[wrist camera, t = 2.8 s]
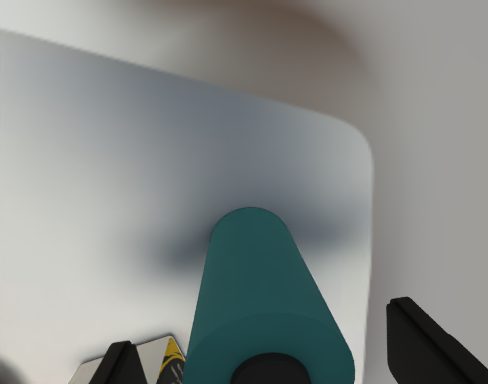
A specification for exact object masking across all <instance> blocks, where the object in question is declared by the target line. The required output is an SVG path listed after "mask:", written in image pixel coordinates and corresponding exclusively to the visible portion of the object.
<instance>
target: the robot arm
mask: <svg viewBox="0 0 488 384" xmlns="http://www.w3.org/2000/svg"><path fill="white" fill-rule="evenodd" d="M386 310H387V311H386V313H387V357H388V358H387V360H388V366H389V369H390V371H391V373H392V375H393V377H394V378H395V380H396V381H397V383H398V384H488V369H487V368H486V367H485V366H484V365H483V364H482V363H481V362H480V361H479V360H478V359H477V358H475V357H474V356H473V355H472V354H471V353H470V352H469V351H468V350H467V349H466V348H465V347H464V346H463V345H462V344H461V343H460V342H459V341H457V340H456V339H455V338H454V337H453V336H451V335H450V334H448V333H446V332H445V331H444V330H443V329H442V328H441V327H440V326H439V325H438V324H437V323H436V322H435V321H434V320H433V319H432V318H431V317H430V316H429V315H428V314H426V313H425V312H424V311H423V310H422V309H421V308H420V307H419V306H418V305H417V304H416V303H415V302H414V301H413V300H412V299H411V298H409V297H401V298H395V299H391V300H390V304H387V307H386ZM89 384H148V383H147V380H146V377H145V373H144V370H143V367H142V364H141V360H140V357H139V354H138V351H137V347H136V345H135V344H132V343H131V342H130V341H122V342H116V343H112V344H111V346H110V347H109V349H108V350H107V352H106V354H105V356H104V357H103V359H102V361H101V363H100V364H99V366H98V368H97V370H96V371H95V373H94V375H93V377H92V378H91V380H90V382H89Z"/></svg>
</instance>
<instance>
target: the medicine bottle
mask: <svg viewBox="0 0 488 384" xmlns="http://www.w3.org/2000/svg"><path fill="white" fill-rule="evenodd" d="M136 347H137V351H138V354H139V357H140V360H141V364H142V367H143V370H144V373H145V377H146V380H147V383H148V384H182V378H183V371H184V366H185V361H186V360H185V358H184V356H183V355H182V353H181V351H180V349H179V347H178V345H177V343H176V341H175V339H174V338H173V337H172V336H167V337H164V338H161V339H157V340H154V341H151V342H148V343H145V344H142V345H139V346H136ZM102 359H103V357H102V358H99V359H96V360H93V361H90V362H87V363H83V364H82V365H80V366H79V367H78V369H77V371H76V372H75V374H74V375H73V377H72V379H71V380H70V382H69V383H68V384H89V382H90V380H91V378H92V377H93V375H94V373H95V371H96V370H97V368H98V366H99V364H100V363H101V361H102Z"/></svg>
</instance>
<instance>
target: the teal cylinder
mask: <svg viewBox="0 0 488 384" xmlns="http://www.w3.org/2000/svg"><path fill="white" fill-rule="evenodd" d="M354 381H355V366H354V360H353V356H352V353H351V351H350V349H349V347H348V345H347V343H346V341H345V339H344V337H343V335H342V333H341V331H340V329H339V327H338V325H337V324H336V322H335V320H334V318H333V316H332V314H331V312H330V310H329V308H328V306H327V304H326V302H325V300H324V298H323V297H322V295H321V293H320V291H319V289H318V287H317V285H316V283H315V281H314V279H313V277H312V275H311V273H310V271H309V270H308V268H307V266H306V264H305V262H304V260H303V258H302V256H301V254H300V252H299V250H298V248H297V246H296V244H295V243H294V241H293V239H292V237H291V235H290V233H289V231H288V229H287V227H286V225H285V224H284V223H283V221H282V220H281V219H280V218H279V217H277V216H276V215H275V214H273V213H271V212H269V211H267V210H264V209H261V208H242V209H238V210H235V211H233V212H231V213H229V214H227V215H226V216H224V217H223V218H222V219H221V220H220V221H219V222H218V223H217V224H216V226H215V227H214V229H213V231H212V233H211V237H210V241H209V246H208V251H207V256H206V261H205V266H204V271H203V276H202V281H201V286H200V291H199V296H198V301H197V306H196V311H195V316H194V321H193V326H192V331H191V336H190V341H189V346H188V351H187V356H186V361H185V366H184V371H183V378H182V384H354Z"/></svg>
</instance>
